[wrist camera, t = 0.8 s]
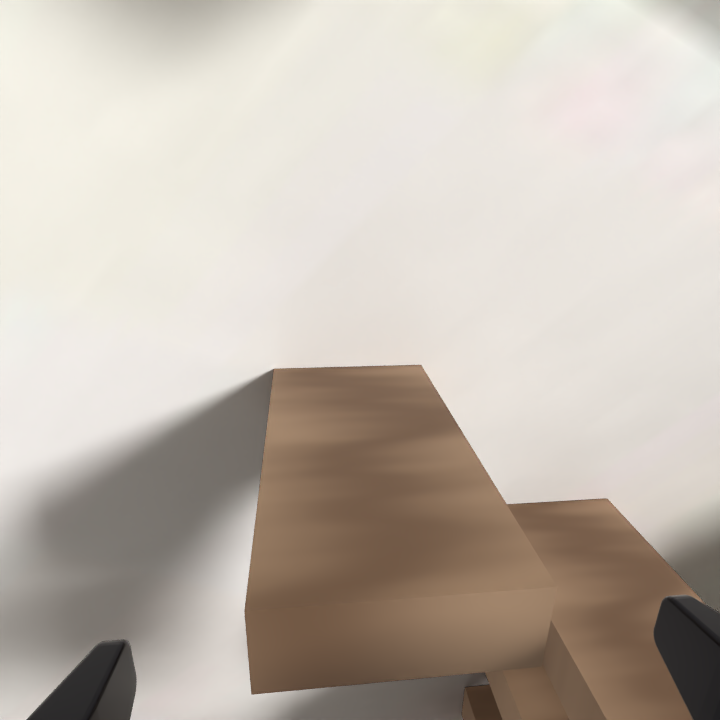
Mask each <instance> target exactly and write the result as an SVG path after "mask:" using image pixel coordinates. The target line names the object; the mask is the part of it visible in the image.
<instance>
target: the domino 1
mask: <svg viewBox="0 0 720 720" xmlns="http://www.w3.org/2000/svg"><path fill="white" fill-rule="evenodd" d="M556 591H557V586H556V584H555V582H554V581H553V579H552V578H551V576H550V574H549V573H548V571H547V569H546V568H545V566H544V564H543V563H542V561H541V560H540V558H539V556H538V555H537V553H536V551H535V550H534V548H533V547H532V545H531V543H530V542H529V540H528V538H527V537H526V535H525V534H524V532H523V530H522V529H521V527H520V525H519V524H518V522H517V521H516V519H515V517H514V516H513V514H512V512H511V511H510V509H509V508H508V506H507V504H506V503H505V501H504V499H503V498H502V496H501V494H500V493H499V491H498V490H497V488H496V486H495V485H494V483H493V481H492V480H491V478H490V477H489V475H488V473H487V472H486V470H485V468H484V467H483V465H482V464H481V462H480V460H479V459H478V457H477V455H476V454H475V452H474V451H473V449H472V447H471V446H470V444H469V442H468V441H467V439H466V438H465V436H464V434H463V433H462V431H461V429H460V428H459V426H458V424H457V423H456V421H455V420H454V418H453V416H452V415H451V413H450V411H449V410H448V408H447V407H446V405H445V403H444V402H443V400H442V398H441V397H440V395H439V394H438V392H437V390H436V389H435V387H434V385H433V384H432V382H431V381H430V379H429V377H428V376H427V374H426V372H425V371H424V369H423V368H422V366H421V365H399V366H362V367H325V368H287V369H274V371H273V379H272V388H271V396H270V404H269V413H268V421H267V429H266V437H265V446H264V454H263V462H262V471H261V479H260V487H259V495H258V504H257V512H256V520H255V529H254V537H253V545H252V553H251V562H250V570H249V578H248V586H247V595H246V603H245V623H246V634H247V646H248V658H249V670H250V682H251V694H262V693H273V692H283V691H294V690H304V689H315V688H325V687H336V686H346V685H357V684H367V683H378V682H388V681H399V680H409V679H420V678H430V677H441V676H451V675H462V674H472V673H483V672H493V671H504V670H514V669H525V668H535V667H542V663H543V658H544V652H545V647H546V642H547V637H548V632H549V627H550V621H551V616H552V611H553V606H554V601H555V596H556Z"/></svg>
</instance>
